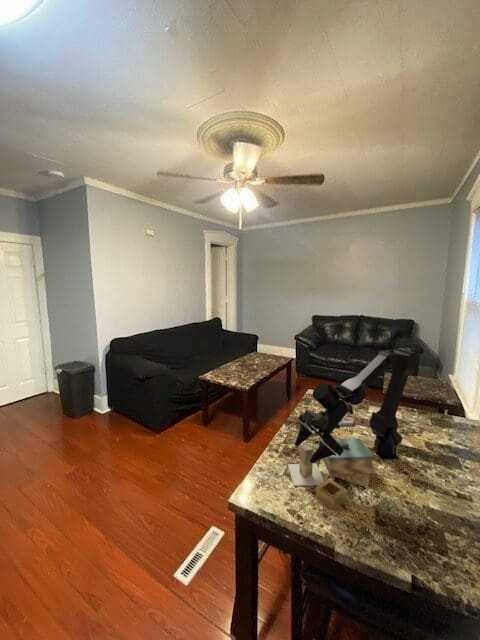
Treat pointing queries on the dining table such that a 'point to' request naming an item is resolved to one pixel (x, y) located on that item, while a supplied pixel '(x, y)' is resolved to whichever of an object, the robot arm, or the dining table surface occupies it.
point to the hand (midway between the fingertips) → (302, 453)
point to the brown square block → (305, 460)
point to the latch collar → (328, 498)
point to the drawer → (350, 458)
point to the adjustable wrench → (340, 424)
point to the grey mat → (307, 481)
